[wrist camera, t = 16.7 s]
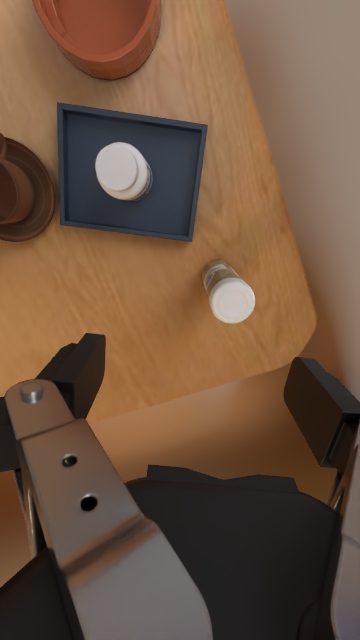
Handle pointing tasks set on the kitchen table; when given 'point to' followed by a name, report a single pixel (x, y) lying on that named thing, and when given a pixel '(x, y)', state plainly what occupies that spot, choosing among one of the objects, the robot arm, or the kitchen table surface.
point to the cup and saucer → (23, 193)
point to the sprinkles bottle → (227, 292)
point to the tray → (159, 152)
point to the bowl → (102, 32)
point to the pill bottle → (123, 172)
